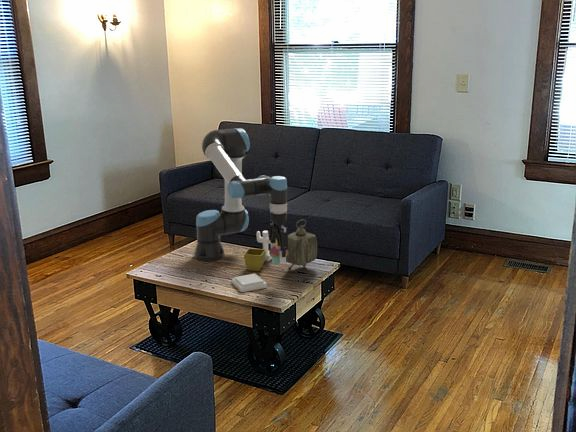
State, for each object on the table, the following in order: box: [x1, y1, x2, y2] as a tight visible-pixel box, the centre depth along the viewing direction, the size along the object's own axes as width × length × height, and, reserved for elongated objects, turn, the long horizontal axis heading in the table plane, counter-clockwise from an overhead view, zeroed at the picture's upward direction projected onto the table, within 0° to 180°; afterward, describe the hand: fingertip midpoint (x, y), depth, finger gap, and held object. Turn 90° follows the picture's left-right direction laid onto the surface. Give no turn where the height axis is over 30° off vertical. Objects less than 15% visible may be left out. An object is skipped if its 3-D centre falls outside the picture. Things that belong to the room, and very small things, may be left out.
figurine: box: [256, 230, 273, 262], centre depth 302 cm, size 7×9×15 cm
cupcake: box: [269, 238, 288, 265], centre depth 270 cm, size 9×8×12 cm
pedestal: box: [231, 273, 268, 293], centre depth 272 cm, size 12×12×3 cm
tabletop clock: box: [286, 218, 318, 272], centre depth 287 cm, size 14×9×25 cm, turn 136°
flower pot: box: [243, 248, 266, 272], centre depth 290 cm, size 9×9×9 cm
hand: (278, 259), depth 271 cm, fingers closed on cupcake, 8 cm apart
